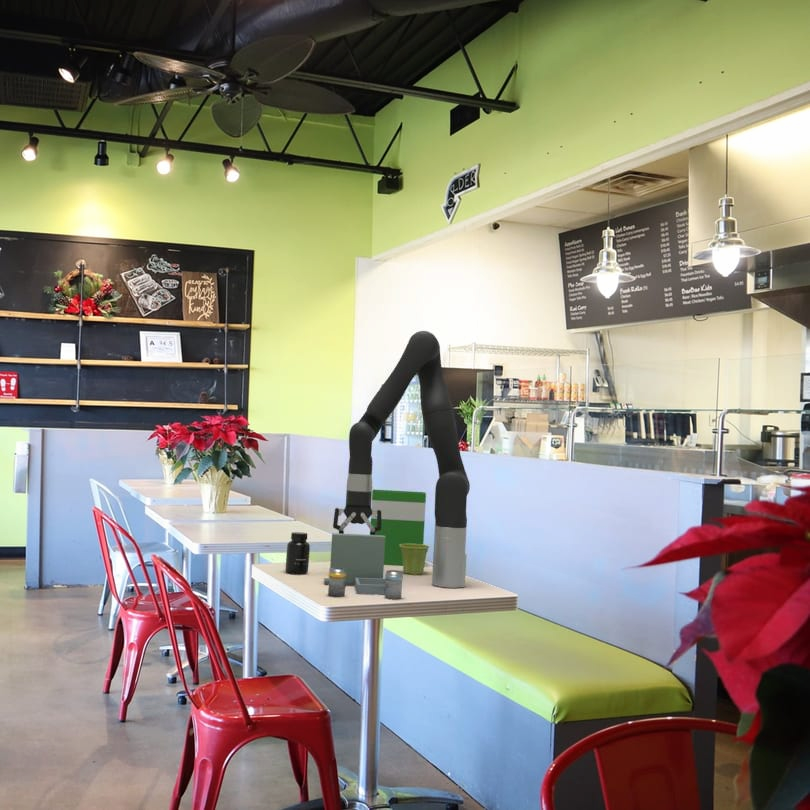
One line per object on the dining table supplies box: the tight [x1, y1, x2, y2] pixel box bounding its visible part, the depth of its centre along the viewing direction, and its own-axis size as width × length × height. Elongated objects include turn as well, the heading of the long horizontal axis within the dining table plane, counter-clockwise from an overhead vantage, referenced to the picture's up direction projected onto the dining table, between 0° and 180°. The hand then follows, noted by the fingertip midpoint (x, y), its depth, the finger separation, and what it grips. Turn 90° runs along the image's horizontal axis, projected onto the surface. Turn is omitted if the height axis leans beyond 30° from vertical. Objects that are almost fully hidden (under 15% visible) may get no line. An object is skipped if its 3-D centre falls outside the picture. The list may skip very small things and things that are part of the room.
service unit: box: [323, 532, 385, 587], centre depth 261 cm, size 18×5×14 cm, turn 96°
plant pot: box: [399, 543, 430, 575], centre depth 287 cm, size 9×9×9 cm
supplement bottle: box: [285, 531, 311, 575], centre depth 276 cm, size 7×7×12 cm
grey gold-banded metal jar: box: [327, 567, 346, 598], centre depth 243 cm, size 5×5×7 cm
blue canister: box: [384, 569, 404, 601], centre depth 244 cm, size 5×5×7 cm
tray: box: [354, 578, 386, 596], centre depth 253 cm, size 11×11×2 cm
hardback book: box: [369, 488, 427, 567], centre depth 305 cm, size 18×7×24 cm, turn 91°
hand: (356, 544), depth 272 cm, fingers open, 8 cm apart
